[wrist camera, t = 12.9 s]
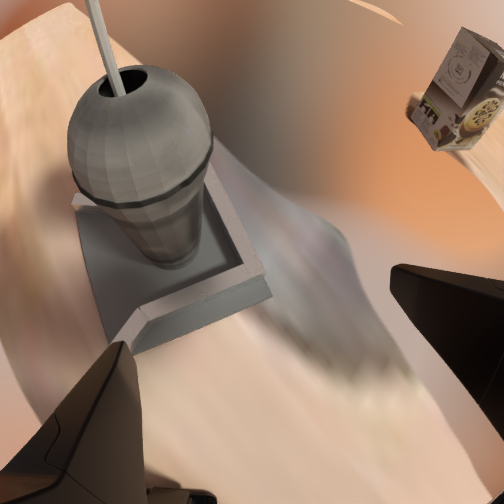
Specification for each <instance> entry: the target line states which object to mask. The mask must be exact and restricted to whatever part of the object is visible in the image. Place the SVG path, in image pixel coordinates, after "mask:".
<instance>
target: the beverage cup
mask: <svg viewBox="0 0 504 504" xmlns="http://www.w3.org/2000/svg"><path fill="white" fill-rule="evenodd" d="M85 3H86V7H87V10H88V14H89V17H90V21H91V24H92V28H93V31H94V35H95V38H96V41H97V44H98V48H99V51H100V54H101V57H102V60H103V63H104V66H105V69H106V72H107V74H106V75H104V76H103V77H102V78H100V79H99V80H98V81H96V82H95V83H94V84H92V85H91V86H90V87H89V89H88V90H87V91H86V92H85V93H84V94H83V96H82V97H81V98H80V100H79V101H78V103H77V105H76V107H75V110H74V112H73V114H72V117H71V119H70V122H69V126H68V133H67V150H68V159H69V163H70V166H71V168H72V174H73V178H74V181H75V182H76V184H77V186H78V188H79V190H80V192H81V194H83V195H84V196H86V197H87V198H88V199H90V200H91V201H92V202H94V203H95V204H96V205H97V206H99V207H100V208H101V209H102V210H104V211H105V212H106V213H108V214H109V215H110V217H111V218H112V219H113V220H114V221H115V222H116V224H117V225H118V226H119V227H120V228H121V230H122V231H123V232H124V233H125V234H126V235H127V237H128V238H129V239H130V240H131V241H132V242H133V243H134V245H135V246H136V247H137V248H138V249H139V250H140V251H141V253H142V254H143V255H144V256H145V257H146V258H147V259H149V260H150V261H151V262H152V263H153V264H154V265H156V266H157V267H158V268H161V269H164V270H178V269H181V268H184V267H186V266H187V265H189V264H190V263H191V262H192V261H193V260H194V259H195V257H196V256H197V255H198V252H199V249H200V241H201V234H202V207H203V186H204V178H205V176H206V173H207V169H208V165H209V161H210V156H211V154H212V151H213V131H212V128H211V126H210V124H209V118H208V115H207V113H206V110H205V108H204V106H203V104H202V102H201V100H200V98H199V96H198V95H197V93H196V91H195V90H194V89H193V88H192V87H191V86H190V85H189V84H188V83H187V82H186V81H184V80H183V79H182V78H181V77H179V76H178V75H176V74H174V73H173V72H171V71H168V70H166V69H163V68H159V67H156V66H149V65H133V66H127V67H123V68H120V69H118V68H117V64H116V61H115V58H114V54H113V51H112V48H111V44H110V41H109V37H108V34H107V31H106V27H105V23H104V19H103V16H102V12H101V8H100V4H99V1H98V0H85Z"/></svg>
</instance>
